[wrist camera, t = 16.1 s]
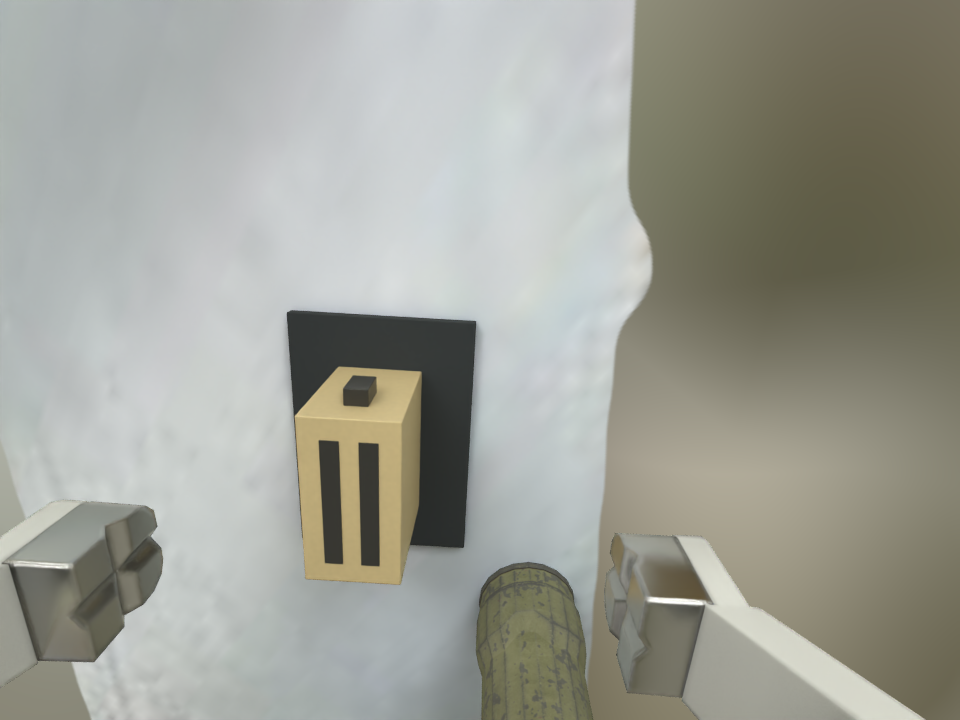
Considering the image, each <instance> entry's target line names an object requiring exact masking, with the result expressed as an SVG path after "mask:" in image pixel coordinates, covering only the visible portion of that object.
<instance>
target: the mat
mask: <svg viewBox="0 0 960 720" xmlns="http://www.w3.org/2000/svg"><path fill="white" fill-rule="evenodd" d="M287 322H288V336H289V351H290V365H291V380H292V394H293V409H294V424H295V415H296V414H297V413H298V412H299V411H300V410H301V408H302V407H303V406H304V405H305V404H306V403H307V402H308V401H309V399H310V398H311V397H312V396H313V395H314V394H315V393H316V392H317V390H318V389H319V388H320V387H321V386H322V385H323V384H324V382H325V381H326V380H327V379H328V378H329V377H330V376H331V375H332V373H333V372H334V371H335V370H336V369H337V368H338V367H354V368H370V369H387V370H404V371H420V372H422V384H421V431H420V478H419V507H418V511H417V516H416V520H415V524H414V529H413V533H412V537H411V542H410V545H425V546H442V547H459V548H463V547H464V534H465V516H466V498H467V479H468V461H469V443H470V425H471V406H472V388H473V370H474V352H475V333H476V321H463V320H446V319H429V318H412V317H395V316H378V315H361V314H344V313H327V312H310V311H293V310H291V311H289V312H287ZM295 438H296V428H295ZM296 453H297V443H296ZM297 467H298V458H297ZM298 482H299V473H298ZM299 496H300V488H299ZM300 511H301V503H300ZM301 526H302V518H301ZM302 538H303V533H302Z"/></svg>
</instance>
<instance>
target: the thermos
mask: <svg viewBox="0 0 960 720" xmlns="http://www.w3.org/2000/svg"><path fill="white" fill-rule="evenodd" d="M479 606H480V611H479V615H478V620H477V635H476V655H477V660H478V665H479V668H480V671H481V675H482V716H481V720H593V716H592V711H591V706H590V701H589V695H588V690H587V685H586V680H585V665H586V647H585V640H584V635H583V630H582V625H581V621H580V616H579V612H578V610H577V609H576V607H575V605H574V596H573V591H572V589H571V587H570V585H569V583H568V581H567V580H566V579H565V578H564V577H563V576H562V575H561V574H560V573H559V572H558V571H556V570H554V569H552V568H550V567H548V566H545V565H543V564H536V563H530V562H527V563H517V564H512V565H509V566H507V567H504V568H501V569H499V570H498V571H497V572H495V573H494V574H493V575H491V576H490V577H489V578H488V580H487V581H486V583H485V584H484V586H483V587H482V590H481V594H480V599H479Z"/></svg>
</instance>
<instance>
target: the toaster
mask: <svg viewBox="0 0 960 720" xmlns="http://www.w3.org/2000/svg"><path fill="white" fill-rule="evenodd" d="M421 384H422V372H420V371H404V370H387V369H370V368H354V367H338V368H337V369H336V370H335V371H334V372H333V373H332V375H331V376H330V377H329V378H328V379H327V380H326V381H325V382H324V384H323V385H322V386H321V387H320V388H319V389H318V390H317V392H316V393H315V394H314V395H313V396H312V397H311V398H310V399H309V401H308V402H307V403H306V404H305V405H304V406H303V407H302V408H301V410H300V411H299V412H298V413H297V414H296V415H295V428H296V443H297V458H298V473H299V488H300V503H301V518H302V533H303V548H304V563H305V578H306V579H313V580H329V581H346V582H362V583H379V584H395V585H400V584H401V581H402V577H403V572H404V568H405V564H406V559H407V555H408V551H409V546H410V542H411V537H412V533H413V529H414V524H415V520H416V516H417V511H418V507H419V478H420V431H421Z"/></svg>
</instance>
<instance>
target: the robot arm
mask: <svg viewBox="0 0 960 720" xmlns="http://www.w3.org/2000/svg"><path fill="white" fill-rule="evenodd" d="M156 528H157V523H156V518H155V514H154V510H152V509H150V508H149V507H147V506H143V505H130V504H118V503H105V502H93V501H91V502H87V501H76V500H59V501H54V502H50V503H49V504H47V505H46V506H45V507H43V508H42V509H40V510H39V511H37V512H36V513H34V514H33V515H32V516H30V517H29V518H27V519H26V520H24V521H23V522H21V523H20V524H18V525H17V526H16V527H14V528H13V529H11V530H10V531H8V532H7V533H6V534H4V535H3V536H1V537H0V688H1V687H3V686H4V685H6V684H7V683H9V682H10V681H12V680H13V679H15V678H17V677H18V676H20V675H21V674H23V673H24V672H26V671H27V670H29V669H31V668H32V667H33V666H35V665H37V663H38V661H68V662H69V661H70V662H95V661H96V659H97V658H98V657H99V656H100V655H101V654H102V652H103V651H104V650H105V649H106V648H107V646H108V645H109V644H110V643H111V642H112V641H113V639H114V638H115V637H116V636H117V635H118V634H119V632H120V631H121V630H122V629H123V628H124V615H126V614H127V613H129V612H131V611H133V610H135V609H136V608H138V607H140V606H142V605H143V604H144V603H145V602H146V600H147V599H148V598H149V597H150V596H151V594H152V593H153V592H154V590H155V588H156V586H157V583H158V581H159V579H160V576H161V574H162V565H163V556H162V550H161V547H160V546H159V545H158V544H157V543H156V542H155V541H154V540H153V539H152V537H151V535H152V534H153V532H154V531H155V529H156ZM610 554H611V557H612V560H613V563H614V567H613V568H612V569H611V570H610V571H608V573H607V574H606V582H605V590H604V593H605V611H606V618H607V622H608V626H609V630H610V632H611V633H612V634H613V635H614V636H615V637H616V638H617V639H618V640H619V644H618V649H617V654H616V655H617V658H618V662H619V666H620V669H621V673H622V676H623V680H624V683H625V687H626V690H627V693H636V694H646V695H658V696H669V697H680V698H682V701H683V703H684V704H685V705H686V706H687V707H688V708H689V709H690V711H691V712H692V713H693V714H694V715H695V716H696V717H697V719H698V720H925V719H924V718H922V717H921V716H919V715H918V714H916V713H915V712H913V711H912V710H910V709H909V708H907V707H906V706H904V705H903V704H902V703H900V702H899V701H897V700H896V699H894V698H893V697H891V696H890V695H888V694H887V693H885V692H884V691H882V690H881V689H879V688H878V687H876V686H875V685H873V684H872V683H870V682H869V681H867V680H866V679H864V678H863V677H862V676H860V675H858V674H857V673H856V672H854V671H852V670H851V669H850V668H848V667H847V666H845V665H844V664H842V663H841V662H839V661H838V660H836V659H835V658H833V657H832V656H830V655H829V654H828V653H826V652H825V651H823V650H822V649H820V648H819V647H817V646H816V645H814V644H813V643H811V642H809V641H808V640H807V639H805V638H804V637H802V636H801V635H799V634H798V633H796V632H795V631H793V630H792V629H790V628H789V627H788V626H786V625H785V624H783V623H782V622H780V621H779V620H777V619H776V618H774V617H773V616H771V615H770V614H768V613H767V612H765V611H764V610H762V609H761V608H758V607H757V608H756V607H750V606H749V604H748V603H747V601H746V600H745V598H744V597H743V595H742V594H741V592H740V591H739V589H738V587H737V586H736V584H735V583H734V581H733V580H732V578H731V577H730V575H729V573H728V572H727V570H726V569H725V567H724V566H723V564H722V563H721V561H720V560H719V558H718V556H717V555H716V553H715V552H714V550H713V549H712V547H711V546H710V544H709V543H708V541H707V540H706V539H705V538H703V537H702V536H687V535H686V536H685V535H672V536H661V535H641V534H622V533H615V535H614V537H613V540H612V544H611V550H610Z"/></svg>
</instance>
